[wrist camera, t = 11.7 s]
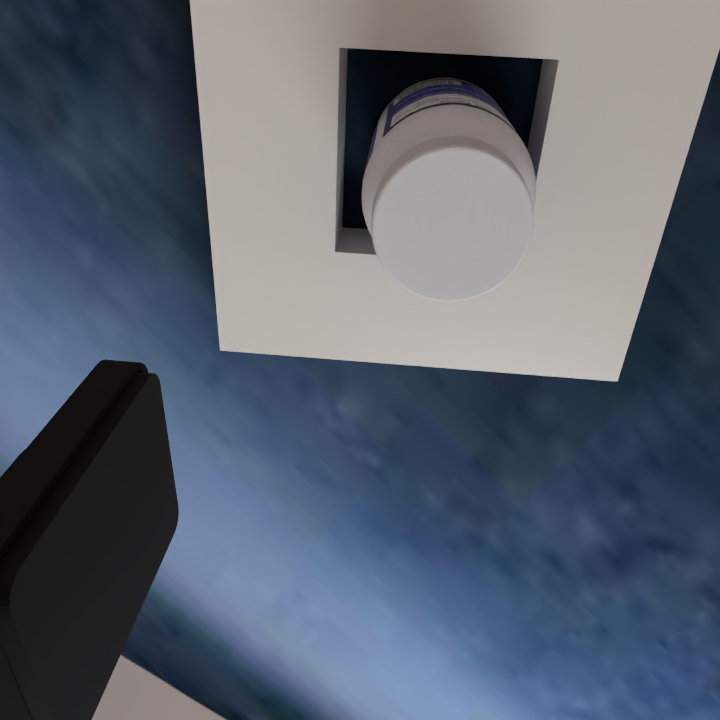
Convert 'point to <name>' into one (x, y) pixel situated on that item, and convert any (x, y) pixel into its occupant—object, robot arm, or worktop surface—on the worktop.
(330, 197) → the socket block
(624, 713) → the worktop surface
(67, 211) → the worktop surface
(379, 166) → the pill bottle
